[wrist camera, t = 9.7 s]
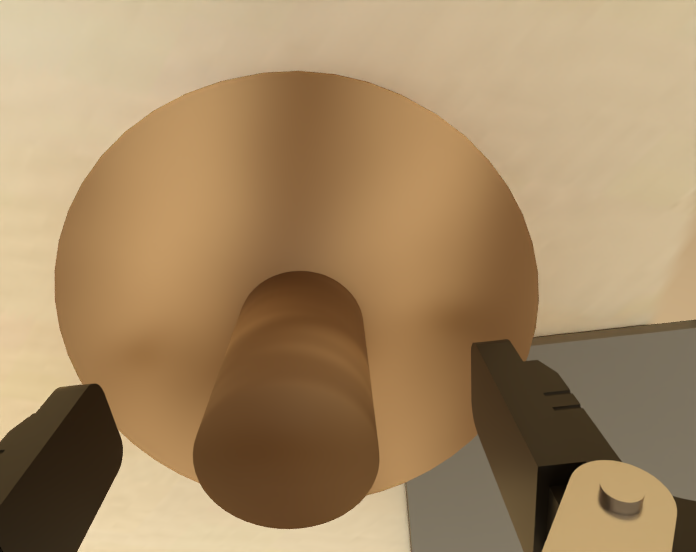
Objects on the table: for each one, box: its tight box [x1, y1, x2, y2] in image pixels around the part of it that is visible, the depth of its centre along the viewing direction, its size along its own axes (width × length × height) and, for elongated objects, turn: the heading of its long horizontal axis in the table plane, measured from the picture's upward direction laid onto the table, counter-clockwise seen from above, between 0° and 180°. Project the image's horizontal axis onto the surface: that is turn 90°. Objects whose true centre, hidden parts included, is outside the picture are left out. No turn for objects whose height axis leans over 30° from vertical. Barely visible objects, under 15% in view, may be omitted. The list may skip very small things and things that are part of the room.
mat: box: [406, 320, 696, 552], centre depth 24 cm, size 14×14×1 cm
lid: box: [55, 71, 539, 529], centre depth 12 cm, size 13×13×6 cm
